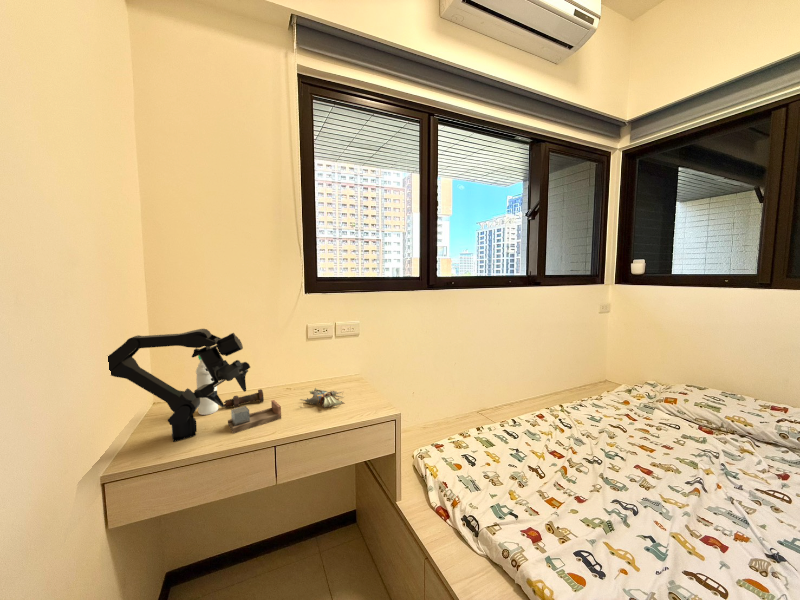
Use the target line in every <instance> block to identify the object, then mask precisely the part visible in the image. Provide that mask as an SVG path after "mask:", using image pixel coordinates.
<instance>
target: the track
mask: <svg viewBox="0 0 800 600" xmlns="http://www.w3.org/2000/svg"><path fill="white" fill-rule="evenodd" d="M270 402H271V403H270V404H271V407H269V408H266V409H261V410H259V411H255V412H250V422H248V423H244V424H241V425H238V426H234V425H233V423H232V418H230V419H227V425H228V428H229V429H230V431H231V432H232V434H236V433H240V432H243V431H245V430H249V429H253V428H255V427H258V426H262V425H266V424H268V423H271V422H274V421H279V420H282V406H281V405H280V404H279V403H278V402H277V401H275V399H272V400H271V401H270Z"/></svg>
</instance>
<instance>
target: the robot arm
mask: <svg viewBox="0 0 800 600" xmlns="http://www.w3.org/2000/svg"><path fill="white" fill-rule="evenodd" d="M166 347H184V348H193V352H192V355H191V358H196V357H198V355H199V356H200V358H201V359H202V361H203V363H204V365H205V367H206V369H205V370H206V371H208V372H209V374H210V375H211V377H212V378H211V380H212V381H214V382H212V383H211V384H205V385H203V386H201V387H199V388H198V389H197V388H196V389H195V390H194V391H192V390H191V389H190V388H188V387H187V388H186V389H185V390H179V389H176V388H175V387H173V386H171V385H170V384H168V383H166V381H163V380H162V379H160V378H159V377H157V376H155V375H154V374H153V373H150V372H149V371H147V370H145V369H144V368H143V367H140V365H139V364H138V362H137V361H136V359H135V358H134V356H135V354H137V353H138V352H139V350H140V349H149V348H150V349H151V348H166ZM243 349H244V347H243V344H242V341H241V339H240V338H239V337H238V336H237V335H236V334H235V333H234V332H232V333H229V334H228V335H227V336H224V337H220V336H217V335H215V334H212V333H211V331H210V330H209V329H206V328H199V329H194V330H190V331H186V332H181V333H169V334H167V333H166V334H157V335H156V334H153V335H152V334H151V335H138V334H137V335H134V336H132V337H129V338H128V339H127V340H126V341H124V343H122V344H121V345H120V346H119V347H118V348H116V349H115V350H114V351H112V353H110V354H108V355H109V356H108V355H107V356H108V362H109V370H110V371H111V375H110V376H111V377H114V378H120V379H125V380H127V381H129V382H132V383H133V384H135V385H137V386H138V387H139V388H141V389H143V390H145V391H147V392H148V393H150V394H151V395H153V396H155V397H157V398H158V399H160V400H162V401H164V402H165V403H167V405H168V408H170V410H171V411H172V412H173V413H172V414H171V415H170V417H169V418H168V419H167V423H169V425H170V426H171V438H172V442H173V443H175V442H178V441H183V440H186V439H188V438H189V439H190V438H193V437H195V436H197V433H196V432H197V430H198V429H197V419H196V418H195V417H194V414H195V412H196V411H197V410H198V407H199V405H200V398H208V399H210V400H212V401H213V402H215V403H216V404H218V407H221V408H225V407H224V404H225V403H224V401H222V399H221V398H220V396H219V395H218V390H217V391H214V387H216V386H217V387H218V386H219V385H220V384H223V383H224V382H225V381H226V382H231V381H232V380H234V379H235V380H236V382H237V384H238V385H239V386H240V388H241V390H242V391H243V392H247V385H246V384H247V382H246V375H247V373H248V372H249V370H250V369H251V366H250V363H249V362H247V361H243V362H241V361H240V360H239V359H236V360H234V361H233V362H231V363H228V361H227V359H225V360H224V358H223V357H222V356H225V357H228V356H230V355H233V354H235V353H237V352H240V351H242V350H243Z"/></svg>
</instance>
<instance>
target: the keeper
mask: <svg viewBox="0 0 800 600" xmlns="http://www.w3.org/2000/svg"><path fill="white" fill-rule="evenodd" d="M230 411H231V412H230V414H231V416H230V417H231V419H232V423H233V425H234V426H238V425H241V424H244V423H248V422H250V414H251V412H250V409H249V408H248V407H247V405H244V406H239V407H236V408H235V407H234V408H233V409H230Z"/></svg>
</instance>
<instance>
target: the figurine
mask: <svg viewBox="0 0 800 600" xmlns="http://www.w3.org/2000/svg"><path fill="white" fill-rule="evenodd" d="M344 392H345V390H343V391H335V390H330V391H327V390H322V389H319V388H316V387H315V388H314V390H313V389H312V390H310V391H309V394H311V395H312V397H311V398H308V397H307V398H306V399H302V398H300V399H299V401H303V402H305V403H307V404H310V405H317V406H322V408H333V407H337V406H340V405H344V404H346V402H343V400H339V399H337V398H344V397H345V396H344V395H338V394H343V393H344Z"/></svg>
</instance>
